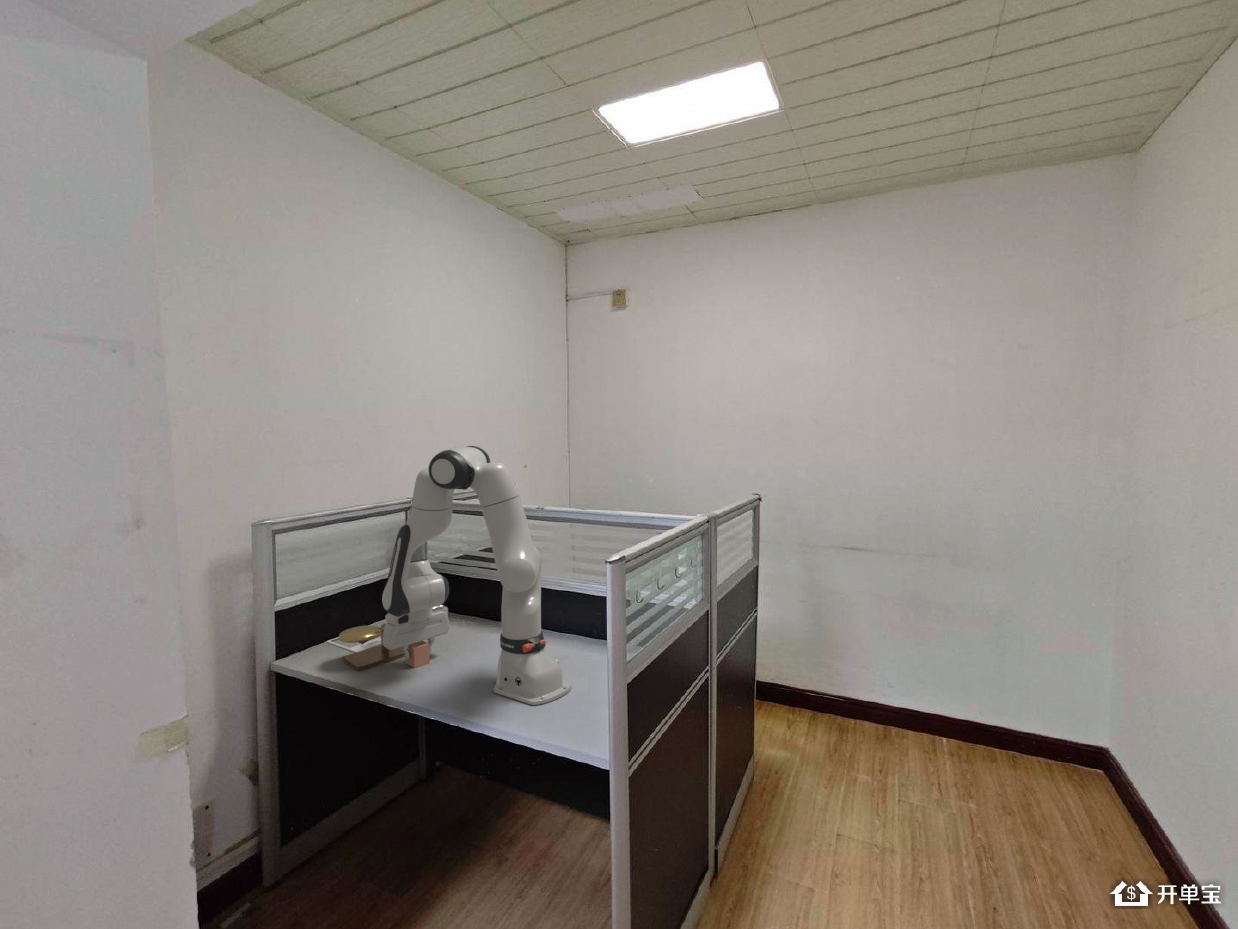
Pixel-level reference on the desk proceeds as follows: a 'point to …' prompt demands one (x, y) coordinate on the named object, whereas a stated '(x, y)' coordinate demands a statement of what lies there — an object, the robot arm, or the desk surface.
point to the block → (419, 654)
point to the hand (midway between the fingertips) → (418, 655)
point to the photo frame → (359, 647)
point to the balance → (370, 655)
